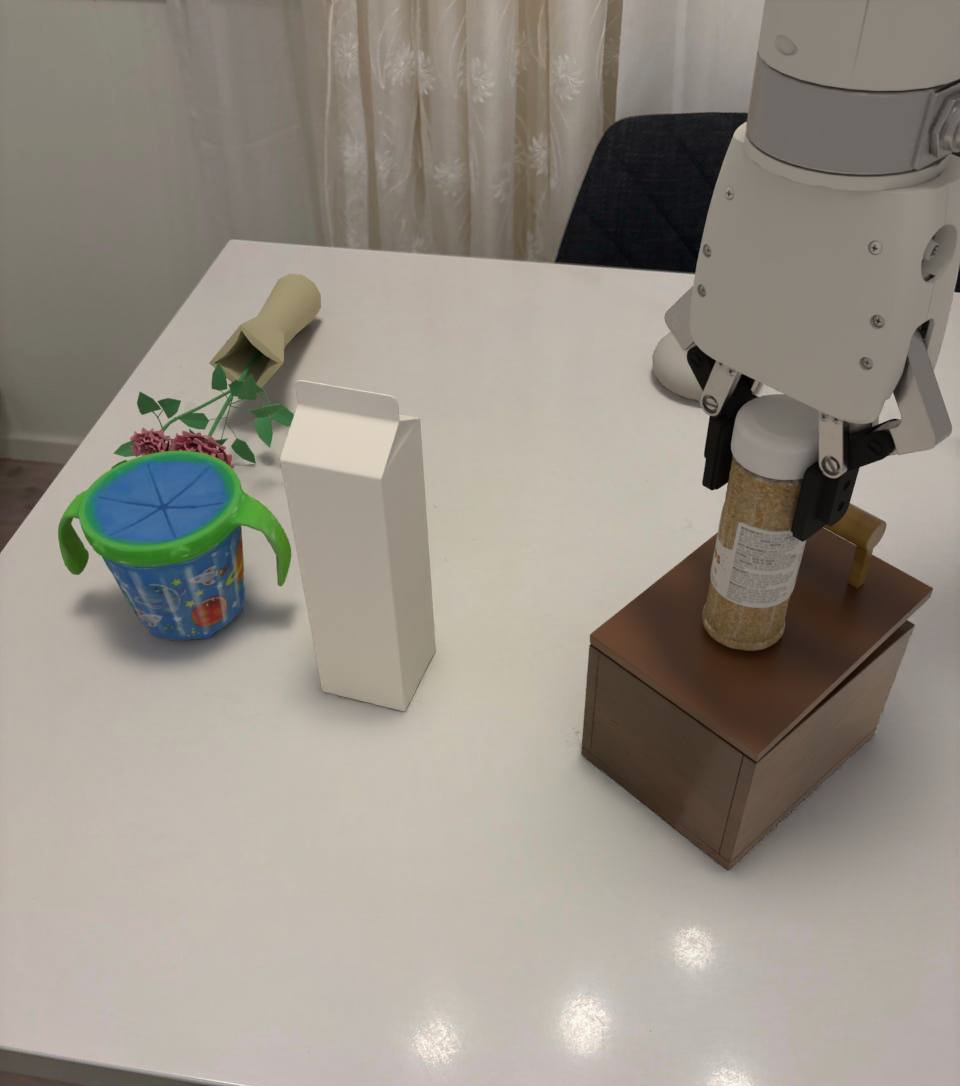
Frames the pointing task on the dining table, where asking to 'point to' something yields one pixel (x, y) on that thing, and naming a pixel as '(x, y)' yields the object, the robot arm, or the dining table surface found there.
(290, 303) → the flower vase
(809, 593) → the lid
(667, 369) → the donut
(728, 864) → the chest
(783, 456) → the sprinkles bottle
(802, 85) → the robot arm
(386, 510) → the milk
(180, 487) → the snack cup
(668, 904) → the dining table surface
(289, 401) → the dining table surface
